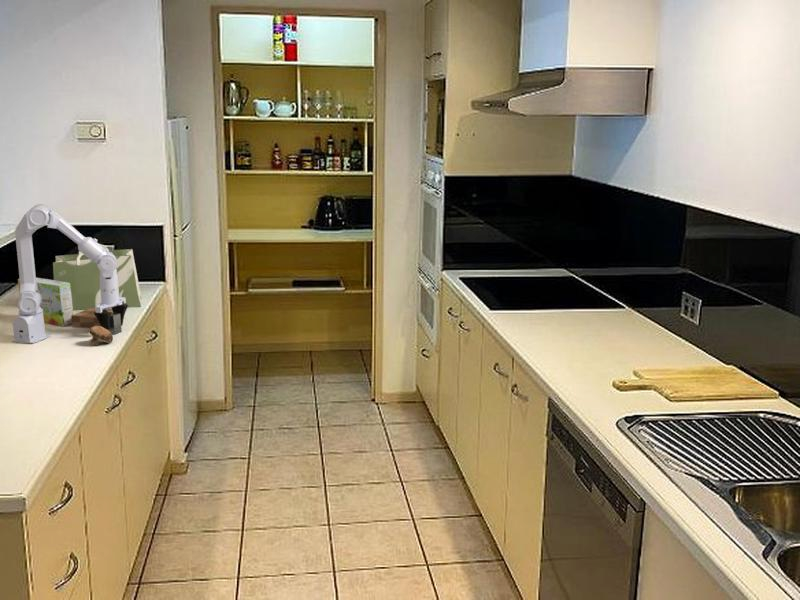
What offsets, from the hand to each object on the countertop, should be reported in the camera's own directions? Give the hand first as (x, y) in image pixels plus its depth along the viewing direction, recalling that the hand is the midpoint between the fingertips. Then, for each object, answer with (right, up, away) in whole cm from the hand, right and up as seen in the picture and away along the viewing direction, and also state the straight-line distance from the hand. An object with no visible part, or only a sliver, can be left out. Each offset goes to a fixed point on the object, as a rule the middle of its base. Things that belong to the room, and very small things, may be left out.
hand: (112, 328), depth 278 cm
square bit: (0, -2, 0) cm, 2 cm away
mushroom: (+1, -5, -12) cm, 13 cm away
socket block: (-9, +1, +12) cm, 15 cm away
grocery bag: (-19, +7, +38) cm, 43 cm away
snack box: (-28, +2, +14) cm, 31 cm away
